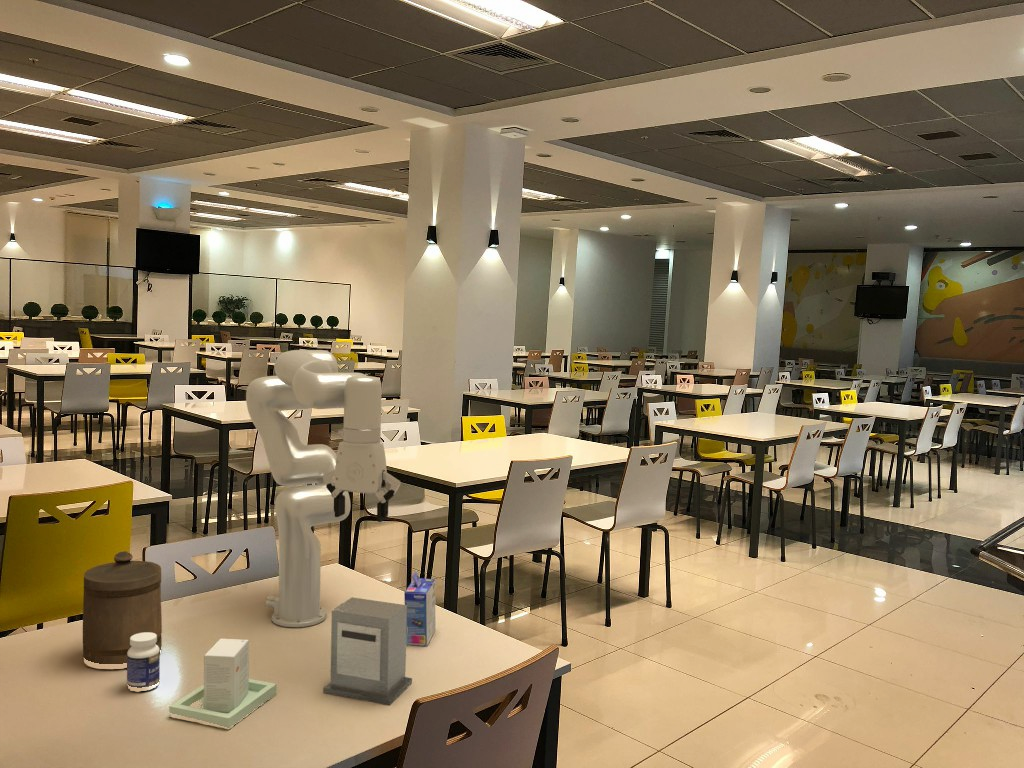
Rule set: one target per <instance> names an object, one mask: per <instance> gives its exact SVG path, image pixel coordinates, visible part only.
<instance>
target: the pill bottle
mask: <svg viewBox="0 0 1024 768" xmlns="http://www.w3.org/2000/svg"><path fill="white" fill-rule="evenodd" d="M156 642H157V635H156V634H155V633H151V632H144V633H138V634H135V635H133V636H131V637H130V645H131V646H132V647H131V648H130V649H129V650H128V653H127V669H126V685H127V684H128V685H129V686H131V687H137V688H142V687H149V686H152V685H155V684H157V683H158V682H159V683H160V681H159V680H160V678H161V677H160V674H161V673H160V670H161V669H160V662H161V661H160V659H161V658H160V655H161V654H160V649H159V647H158V646H157V645H156V644H155V643H156Z"/></svg>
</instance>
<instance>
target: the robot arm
mask: <svg viewBox="0 0 1024 768" xmlns="http://www.w3.org/2000/svg"><path fill="white" fill-rule="evenodd" d="M274 373H275V375H269V376H268V375H267V376H262V377H258V378H255V379H253V380H251V382H250V383H249V384H248V385H247V388H246V392H245V400H246V402H245V403H246V407H247V411H248V415H249V417H250V420H251V422H252V423H253V425H254V427H255V429H256V431H257V432H258V434H259V436H260V438H261V441H262V444H263V447H264V450H265V456H266V457H267V462H268V465H269V469H270V471H271V472H270V473H271V474H272V477H273V479H274V481H275V482H276V484H277V485H279V486H283V487H289V488H286V489H283V490H282V491H280V492H279V493H278V494H277V496H276V498H275V502H274V511H275V515H276V522H277V529H278V530H277V531H278V558H279V559H278V596H276V595H268V596H267V598H266V601H265V604H264V605H265V607H268V608H273V609H274V611H273V612H272V613H271V621H272V622H273V623H274V624H275V625H276V626H280V627H286V628H305V627H311V626H314V625H318V624H320V623H321V622H323V621H324V620H326V619H327V610H326V609H325V608H324V607H323V606H321V567H322V566H321V565H322V564H321V558H322V557H321V553H322V552H321V551H322V548H321V542H320V539H319V538H318V536H317V535H316V534H315V533H314V531H312V527H315V526H319V525H326V524H333V523H338V522H341V521H344V520H346V519H347V518H348V516H349V515H350V511H351V506H352V505H351V498H350V494H349V493H359V494H374V495H375V496H376V498H377V499H378V500H379V502H377V504H376V505H377V507H376V521H377V522H378V523H381V522H384V521H385V520H387V517H388V516H389V501H390V500H391V499H392V498H393V497H394V496H396V494H397V492H398V491H399V488H400V486H401V484H402V482H401V480H399V479H397V478H396V477H394V476H393V475H392V474H390V473H388V471H387V470H388V469H387V459H386V451H385V447H384V443H382V442H381V440H382V439H381V437H382V436H381V435H382V434H381V433H382V432H381V430H382V428H381V426H382V424H381V423H382V382H381V379H379V377H376V376H372V375H371V376H370V375H366V374H364V373H362V372H339V365H338V361H337V359H336V357H335V356H334V354H333V353H331V352H330V351H328V350H323V349H294V350H293V349H292V350H287V351H284V352H283V353H282V354H280V355H279V356H278V357H277V358H276V360H275V362H274ZM308 409H314V410H329V409H330V410H331V409H343V427H342V428H339V429H338V431H337V434H338V436H341V437H342V440H343V441H339V443H338V447H337V451H336V452H337V453H336V452H335V451H334V449H332V448H331V446H328V445H326V444H323V443H321V444H320V443H318V444H317V443H315V444H304V443H302V442H301V438H300V437H299V436H300V435H299V433H298V430H297V428H296V426H295V425H294V424H293V423H292V422H291V421H290V420H289V419H288V418H287V417H286V416H284V415H283V414H282V413H280V411H289V410H292V411H293V410H308ZM387 483H388V484H389V485H390V487H389V490H387V489H386V487H387Z"/></svg>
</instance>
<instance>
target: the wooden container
mask: <svg viewBox="0 0 1024 768" xmlns="http://www.w3.org/2000/svg"><path fill="white" fill-rule="evenodd" d="M133 558H134V557H133V554H132V553H130V552H129V551H127V550H126V551H125V550H124V551H118V553H116V554H115V555H114V557H113V560H114V561H112V562H108V563H103V564H98V565H96V566H94V567H91V568H89V569H87V570H86V571H85V572H84V574H83V601H82V602H83V608H82V609H83V610H82V658H83V657H84V658H85V659H86V660H88V661H91V662H94V663H99V664H123V663H127V653H128V650H129V649H130V648H131V647H132V646H131V645H130V637H131V636H133V635H135V634H138V633H144V632H151V633H155V634H156V635H157V642H156V643H155V644H156V645H157V646H158V647H159V649H160V650H161V651H162V649H161V647H162V644H163V643H162V642H163V641H162V633H163V632H162V631H163V629H162V627H163V625H162V622H163V619H162V589H161V588H162V587H161V583H162V567H161V565H160V564H158V563H155V562H154V561H153V562H152V561H146V560H133Z"/></svg>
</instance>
